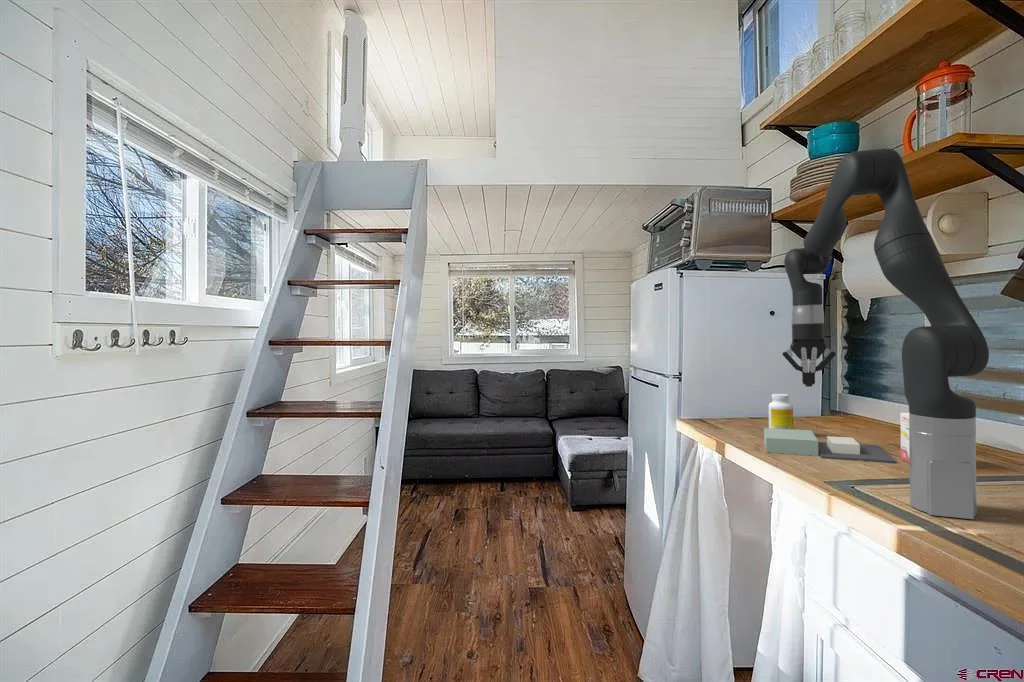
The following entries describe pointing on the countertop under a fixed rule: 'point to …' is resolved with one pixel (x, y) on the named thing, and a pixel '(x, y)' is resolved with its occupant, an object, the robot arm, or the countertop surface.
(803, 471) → the countertop surface
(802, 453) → the block
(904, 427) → the ink cartridge box
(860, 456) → the mat
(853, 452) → the tile
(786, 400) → the supplement bottle
